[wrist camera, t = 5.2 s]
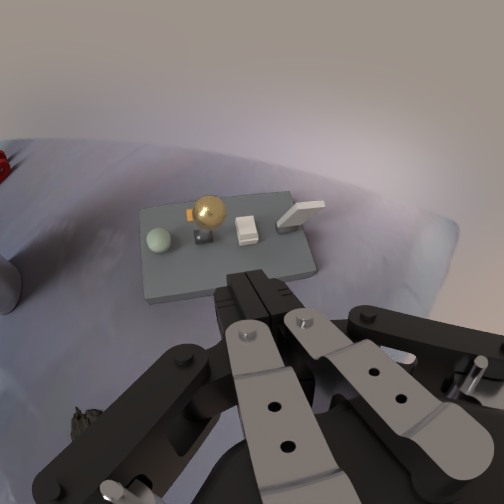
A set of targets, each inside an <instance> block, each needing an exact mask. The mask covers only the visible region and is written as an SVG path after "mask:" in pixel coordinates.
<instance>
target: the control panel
mask: <svg viewBox="0 0 504 504" xmlns="http://www.w3.org/2000/svg"><path fill="white" fill-rule="evenodd" d="M220 199H221V200H222V201H223V202H224V204H225V206H226V209H227V216H226V219H225V221H224V223H223V224H222V225H221V226H220V227H219V228H217V229H214V230H212V235H213V243H207V244H200V245H195V239H194V231H193V230H200V227H198V226H197V225H196V224H195V222H194V220H193V218H192V208H193V206H194V204H195V202H196V201H191V202H184V203H177V204H170V205H163V206H157V207H150V208H144V209H139V218H140V246H141V263H142V276H143V287H144V297H145V300H146V301H147V302H148V304H149V305H150V304H158V303H164V302H171V301H178V300H185V299H191V298H197V297H204V296H210V295H213V294H214V292H215V290H216V288H218V287H224V286H227V280H226V275H227V274H233V273H239V272H245V271H251V270H257V269H262V270H263V272H264V273H265V274H266V276H267V277H268V278H269V279H270V278H277V279H279V280H281V281H283V282H289V281H294V280H299V279H304V278H309V277H311V276H312V275H313V274H314V273H315V272H316V271H317V269H316V266H315V263H314V260H313V257H312V254H311V251H310V248H309V245H308V242H307V239H306V236H305V233H304V230H303V227H302V225H298V231H294V232H286V233H279V234H278V233H277V231H276V227H275V222H276V220H278V219H280V218H281V217H282V216H283V215H284V214H285V213H286V212H287V211H288V210H289V209H290V208H291V207H292V206H293V205H294V202H293V199H292V196H291V194H290V191H286V192H274V193H262V194H252V195H242V196H233V197H224V198H220ZM245 216H253V217H254V221H255V226H256V230H257V233H258V239H259V240H258V242H257V243H256V244H249V245H242V246H240V245H239V240H238V235H237V230H236V225H235V220H236V217H245ZM155 228H164V229H166V230H167V231H168V232H169V234H170V238H171V247H170V248H169V250H168V251H167V252H165V253H163V254H155V253H153V252H152V251H151V250H150V249H149V246H148V244H147V241H146V239H147V235H148V233H149V232H150V231H151V230H153V229H155Z"/></svg>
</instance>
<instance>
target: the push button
mask: <svg viewBox="0 0 504 504" xmlns="http://www.w3.org/2000/svg"><path fill="white" fill-rule="evenodd" d="M146 241H147V244H148V246H149V249H150V250H151V251H152V252H153V253H155V254H163V253H165V252H167V251H168V250H169V248H170V247H171V238H170V234H169V232H168V231H167V230H166V229H164V228H155V229H153V230H151V231H150V232H149V233H148V235H147V239H146Z"/></svg>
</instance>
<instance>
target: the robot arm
mask: <svg viewBox="0 0 504 504" xmlns="http://www.w3.org/2000/svg"><path fill="white" fill-rule="evenodd" d="M226 280H227V286H224V287H218V288H216V290H215V292H214V294H213V296H214V303H215V310H216V316H217V323H218V327H219V331H220V334H221V338H222V340H221V341H220V342H219V343H218V344H217V345H215V346H213V347H211V348H209V349H207V350H205V349H203V348H202V347H200V346H198V345H195V344H181V345H177V346H174V347H172V348H170V349H169V350H167V351H166V352H165V353H164V354H163V355H162V356H161V357H160V358H159V359H158V360H157V361H156V362H155V363H154V364H153V365H152V366H151V367H150V368H149V369H148V370H147V371H146V372H145V373H144V374H142V375H141V376H140V377H139V378H138V379H137V380H136V381H135V382H134V383H133V384H132V385H131V386H130V387H129V388H128V389H127V390H126V391H125V392H124V393H123V394H122V395H121V396H120V397H119V398H118V399H117V400H116V401H115V402H114V403H112V404H111V405H110V406H109V407H108V408H107V409H106V410H105V411H104V412H103V413H102V414H101V415H100V416H99V417H98V418H97V419H96V420H95V421H94V422H93V423H92V424H91V425H89V426H88V427H87V428H86V429H85V430H84V431H83V432H82V433H81V434H80V435H79V436H78V437H77V438H76V439H75V440H74V441H73V442H72V443H71V444H69V445H68V446H67V447H66V448H65V449H64V450H63V451H62V452H61V453H60V454H59V455H58V456H57V457H56V458H55V459H53V460H52V461H51V462H50V463H49V464H48V465H47V466H46V467H45V468H44V469H43V470H42V471H41V472H39V473H38V475H37V476H36V477H35V479H34V481H33V485H32V494H33V498H34V500H35V502H36V504H166V503H165V502H164V501H163V500H162V499H161V498H162V497H163V496H164V495H165V493H166V492H167V491H168V490H169V488H170V487H171V486H172V484H173V483H174V482H175V480H176V479H177V478H178V476H179V475H180V474H181V472H182V471H183V470H184V468H185V467H186V466H187V464H188V463H189V462H190V460H191V459H192V457H193V456H194V455H195V453H196V452H197V450H198V449H199V448H200V446H201V445H202V443H203V442H204V441H205V439H206V438H207V436H208V435H209V433H210V432H211V430H212V429H213V427H214V426H215V425H216V423H217V422H218V420H219V418H220V415H221V412H223V411H225V410H227V409H229V408H231V407H233V406H235V405H237V408H238V413H239V418H240V423H241V428H242V432H243V437H244V440H242V441H240V442H239V443H237V444H235V445H234V446H233V447H232V448H230V449H229V450H228V451H227V452H226V453H225V454H224V455H222V457H221V458H220V459H219V460H218V461H217V463H216V464H215V466H214V467H213V469H212V471H211V472H210V474H209V476H208V477H207V479H206V480H205V482H204V484H203V485H202V487H201V488H200V490H199V492H198V493H197V495H196V496H195V498H194V499H193V501H192V503H191V504H504V336H503V335H497V334H492V333H488V332H483V331H478V330H474V329H469V328H464V327H460V326H455V325H451V324H446V323H442V322H438V321H433V320H429V319H425V318H420V317H416V316H412V315H408V314H403V313H399V312H395V311H391V310H387V309H383V308H378V307H374V306H369V305H362V306H357V307H354V308H353V309H351V310H350V312H349V316H348V319H345V320H329V319H328V318H326V317H325V316H324V315H323V314H322V313H321V312H319V311H317V310H314V309H310V308H305V307H304V306H303V304H302V303H301V302H300V301H299V300H298V298H297V297H296V296H295V295H294V294H293V292H292V291H291V290H290V289H289V288H288V286H287V285H286V284H285V283H284V282H283V281H281V280H279V279H277V278H270V279H269V278H268V277H267V276H266V274H265V273H264V272H263V270H262V269H257V270H251V271H245V272H239V273H233V274H227V275H226ZM21 289H22V280H21V275H20V272H19V270H18V269H17V268H16V267H15V266H14V265H12V264H11V263H10V262H9V261H7V260H6V259H5V258H4V257H2V256H1V255H0V314H1V315H5V314H8V313H9V312H11V311H12V310H13V309H14V307H15V306H16V305H17V302H18V300H19V298H20V294H21ZM381 345H382V346H385V347H389V348H393V349H397V350H400V351H404V352H408V353H412V354H414V355H415V356H416V359H415V361H414V362H413V363H411V364H402V363H399V362H395V361H394V360H393V359H392V358H391V357H389V356H388V355H387V354H386V353H385V352H384V351H383V350H381V349H380V346H381Z"/></svg>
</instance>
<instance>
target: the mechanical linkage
mask: <svg viewBox="0 0 504 504" xmlns="http://www.w3.org/2000/svg"><path fill="white" fill-rule="evenodd" d="M2 168H3V171H1V172H0V183H1V182H2V181H3V180H4V179H5V178H6V177H7V176H8V175H9V174H10V165H9V163H8V161H7V159H6V155H5V153H4V152H3V151H2V150H0V170H1V169H2Z"/></svg>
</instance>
